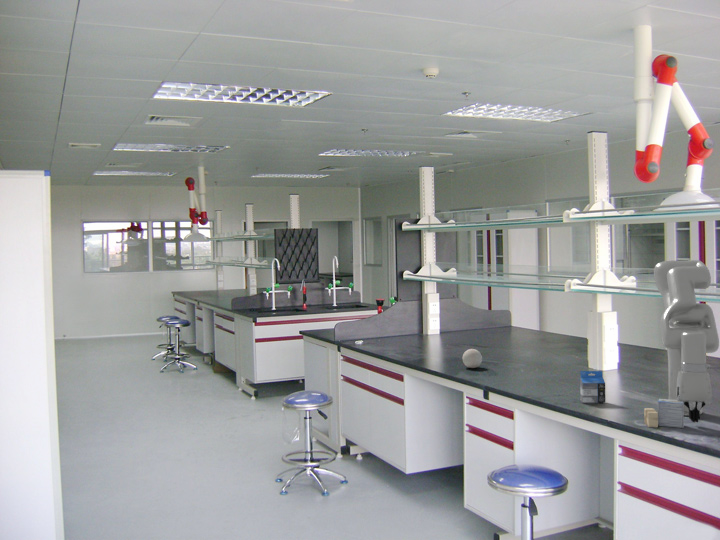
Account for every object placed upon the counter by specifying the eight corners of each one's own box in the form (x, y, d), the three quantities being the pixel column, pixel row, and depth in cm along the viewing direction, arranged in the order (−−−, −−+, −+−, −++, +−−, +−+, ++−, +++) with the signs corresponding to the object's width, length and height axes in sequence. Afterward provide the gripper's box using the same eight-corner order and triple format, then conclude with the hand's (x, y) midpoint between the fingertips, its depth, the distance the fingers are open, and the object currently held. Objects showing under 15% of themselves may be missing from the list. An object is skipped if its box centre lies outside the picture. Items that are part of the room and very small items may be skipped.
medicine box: (683, 425, 221) (683, 400, 220) (683, 428, 217) (683, 403, 217) (658, 422, 224) (658, 398, 224) (658, 426, 220) (657, 401, 220)
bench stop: (644, 422, 226) (644, 408, 225) (653, 422, 225) (653, 408, 225) (648, 427, 220) (648, 412, 220) (657, 427, 219) (657, 412, 219)
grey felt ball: (461, 366, 340) (461, 347, 340) (480, 366, 340) (480, 347, 339) (463, 370, 330) (463, 350, 330) (483, 369, 330) (483, 350, 329)
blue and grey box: (582, 403, 254) (582, 372, 254) (580, 401, 258) (579, 370, 258) (605, 403, 253) (605, 372, 253) (603, 401, 257) (602, 370, 257)
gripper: (713, 365, 221) (714, 418, 222) (667, 365, 224) (667, 417, 224) (721, 369, 214) (722, 424, 214) (673, 369, 217) (674, 423, 217)
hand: (694, 420), depth 219 cm, fingers closed
